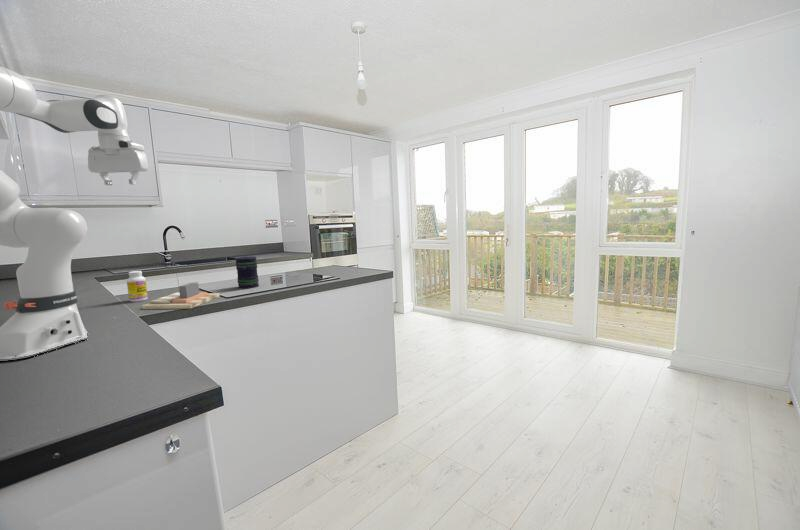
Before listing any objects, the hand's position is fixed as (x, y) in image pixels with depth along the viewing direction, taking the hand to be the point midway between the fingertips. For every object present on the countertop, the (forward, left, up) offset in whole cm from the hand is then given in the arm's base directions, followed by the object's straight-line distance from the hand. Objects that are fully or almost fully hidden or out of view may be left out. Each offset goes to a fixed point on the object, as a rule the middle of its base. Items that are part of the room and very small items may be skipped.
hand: (120, 184), depth 128 cm
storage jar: (+45, -21, -48) cm, 69 cm away
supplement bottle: (+19, +16, -48) cm, 54 cm away
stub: (+14, -11, -46) cm, 50 cm away
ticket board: (+14, -8, -48) cm, 51 cm away
